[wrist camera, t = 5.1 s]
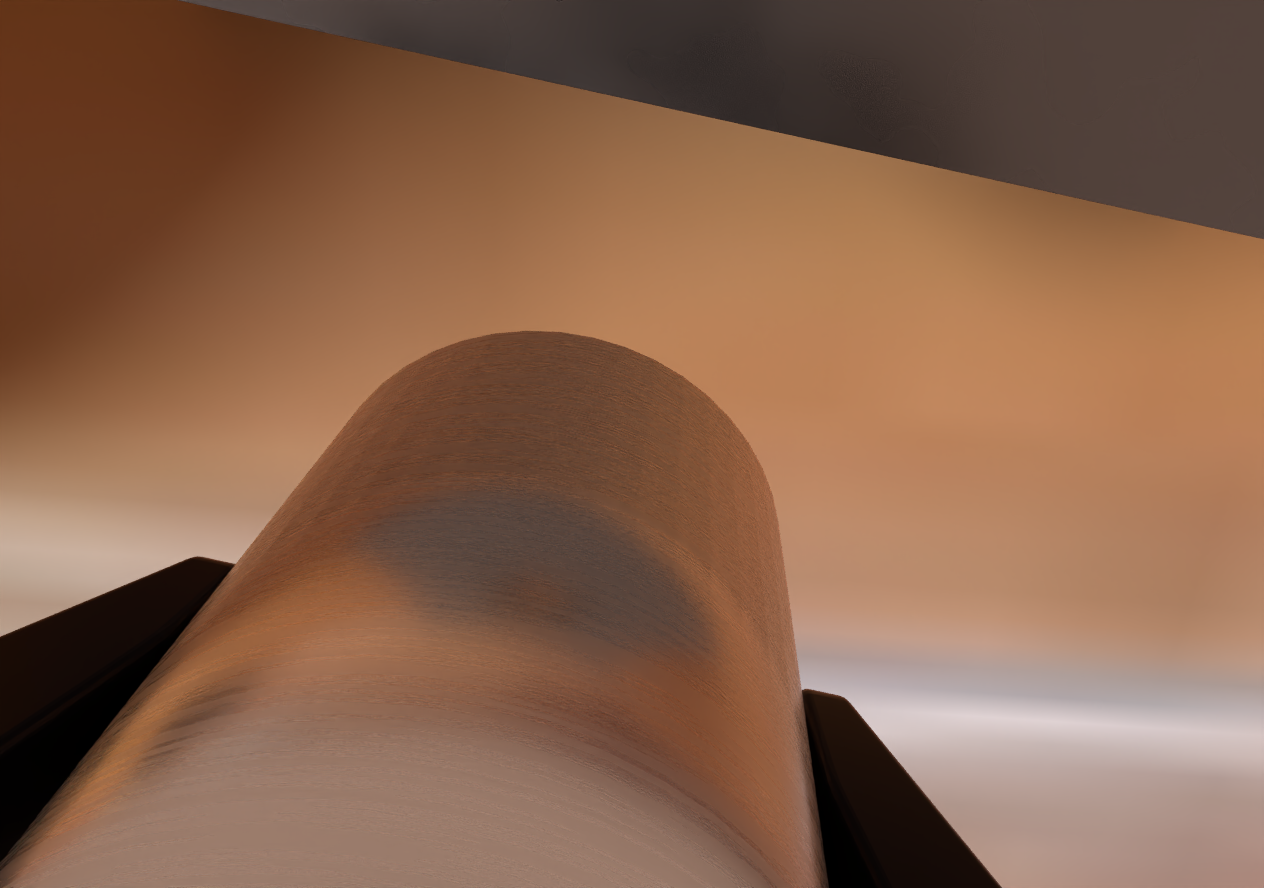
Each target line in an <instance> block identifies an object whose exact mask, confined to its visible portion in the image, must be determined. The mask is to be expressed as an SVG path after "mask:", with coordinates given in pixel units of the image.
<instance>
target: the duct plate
mask: <svg viewBox="0 0 1264 888" xmlns="http://www.w3.org/2000/svg"><path fill="white" fill-rule="evenodd" d="M179 1H184V2H188V3H193V4H197V5H202V6H207V7H211V8H216V9H220V10H225V11H229V12H234V13H238V14H243V15H247V16H252V17H257V18H261V19H266V20H270V21H275V22H279V23H284V24H288V25H293V26H297V27H302V28H307V29H311V30H316V31H320V32H325V33H329V34H334V35H338V36H343V37H347V38H352V39H357V40H361V41H366V42H370V43H375V44H379V45H384V46H388V47H393V48H397V49H402V50H407V51H411V52H416V53H420V54H425V55H429V56H434V57H438V58H443V59H447V60H452V61H457V62H461V63H466V64H470V65H475V66H479V67H484V68H488V69H493V70H497V71H502V72H507V73H511V74H516V75H520V76H525V77H529V78H534V79H538V80H543V81H547V82H552V83H556V84H561V85H566V86H570V87H575V88H579V89H584V90H588V91H593V92H597V93H602V94H606V95H611V96H616V97H620V98H625V99H629V100H634V101H638V102H643V103H647V104H652V105H656V106H661V107H666V108H670V109H675V110H679V111H684V112H688V113H693V114H697V115H702V116H706V117H711V118H716V119H720V120H725V121H729V122H734V123H738V124H743V125H747V126H752V127H756V128H761V129H766V130H770V131H775V132H779V133H784V134H788V135H793V136H797V137H802V138H806V139H811V140H816V141H820V142H825V143H829V144H834V145H838V146H843V147H847V148H852V149H856V150H861V151H866V152H870V153H875V154H879V155H884V156H888V157H893V158H897V159H902V160H906V161H911V162H916V163H920V164H925V165H929V166H934V167H938V168H943V169H947V170H952V171H956V172H961V173H966V174H970V175H975V176H979V177H984V178H988V179H993V180H997V181H1002V182H1006V183H1011V184H1016V185H1020V186H1025V187H1029V188H1034V189H1038V190H1043V191H1047V192H1052V193H1056V194H1061V195H1066V196H1070V197H1075V198H1079V199H1084V200H1088V201H1093V202H1097V203H1102V204H1106V205H1111V206H1116V207H1120V208H1125V209H1129V210H1134V211H1138V212H1143V213H1147V214H1152V215H1156V216H1161V217H1166V218H1170V219H1175V220H1179V221H1184V222H1188V223H1193V224H1197V225H1202V226H1206V227H1211V228H1216V229H1220V230H1225V231H1229V232H1234V233H1238V234H1243V235H1247V236H1252V237H1256V238H1261V239H1264V0H179Z"/></svg>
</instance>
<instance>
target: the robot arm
mask: <svg viewBox="0 0 1264 888" xmlns="http://www.w3.org/2000/svg"><path fill="white" fill-rule="evenodd" d="M234 566H235V564H232V563H228V562H223V561H219V560H214V559H210V558H205V557H192V558H189V559H186V560H184V561H182V562H179V563H177V564H174V565H172V566H170V567H167V568H165V569H162V570H160V571H158V572H155V573H153V574H150V575H148V576H145V577H143V578H141V579H138V580H136V581H133V582H131V583H129V584H126V585H124V586H121V587H119V588H117V589H114V590H112V591H109V592H107V593H104V594H102V595H100V596H97V597H95V598H92V599H90V600H88V601H85V602H83V603H80V604H78V605H76V606H73V607H71V608H68V609H66V610H63V611H61V612H59V613H56V614H54V615H51V616H49V617H47V618H44V619H42V620H39V621H37V622H35V623H32V624H30V625H27V626H25V627H22V628H20V629H18V630H15V631H13V632H10V633H8V634H6V635H3V636H1V637H0V863H1V861H2V860H3V859H4V857H5V856H6V855H7V854H8V852H9V851H10V850H11V849H12V847H13V846H14V845H15V844H16V842H17V841H18V840H19V838H20V837H21V836H22V835H23V833H24V832H25V831H26V830H27V828H28V827H29V826H30V824H31V823H32V822H33V821H34V819H35V818H36V817H37V816H38V814H39V813H40V812H41V811H42V809H43V808H44V807H45V805H46V804H47V803H48V802H49V800H50V799H51V798H52V797H53V795H54V794H55V793H56V792H57V790H58V789H59V788H60V786H61V785H62V784H63V783H64V781H65V780H66V779H67V778H68V776H69V775H70V774H71V772H72V771H73V770H74V769H75V767H76V766H77V765H78V764H79V762H80V761H81V760H82V759H83V757H84V756H85V755H86V753H87V752H88V751H89V750H90V748H91V747H92V746H93V745H94V743H95V742H96V741H97V740H98V738H99V737H100V736H101V734H102V733H103V732H104V731H105V729H106V728H107V727H108V726H109V724H110V723H111V722H112V720H113V719H114V718H115V717H116V715H117V714H118V713H119V712H120V710H121V709H122V708H123V707H124V705H125V704H126V703H127V701H128V700H129V699H130V698H131V696H132V695H133V694H134V693H135V691H136V690H137V689H138V687H139V686H140V685H141V684H142V682H143V681H144V680H145V679H146V677H147V676H148V675H149V674H150V672H151V671H152V670H153V668H154V667H155V666H156V665H157V663H158V662H159V661H160V660H161V658H162V657H163V656H164V655H165V653H166V652H167V651H168V649H169V648H170V647H171V646H172V644H173V643H174V642H175V641H176V639H177V638H178V637H179V635H180V634H181V633H182V632H183V630H184V629H185V628H186V627H187V625H188V624H189V623H190V622H191V620H192V619H193V618H194V616H195V615H196V614H197V613H198V611H199V610H200V609H201V608H202V606H203V605H204V604H205V603H206V601H207V600H208V599H209V597H210V596H211V595H212V594H213V592H214V591H215V590H216V589H217V587H218V586H219V585H220V583H221V582H222V581H223V580H224V578H225V577H226V576H227V575H228V573H229V572H230V571H231V570H232V568H233V567H234ZM802 697H803V704H804V712H805V719H806V726H807V733H808V740H809V748H810V755H811V762H812V769H813V776H814V784H815V791H816V798H817V805H818V813H819V820H820V827H821V834H822V841H823V849H824V856H825V863H826V870H827V878H828V885H829V888H1002V887H1001V886H1000V885H999V884H998V882H997V881H996V880H995V879H994V877H993V876H992V875H991V874H990V873H989V871H988V870H987V869H986V868H985V867H984V865H983V864H982V863H981V862H980V860H979V859H978V858H977V857H976V856H975V854H974V853H973V852H972V851H971V849H970V848H969V847H968V846H967V845H966V843H965V842H964V841H963V840H962V839H961V837H960V836H959V835H958V834H957V832H956V831H955V830H954V829H953V828H952V826H951V825H950V824H949V823H948V822H947V820H946V819H945V818H944V817H943V815H942V814H941V813H940V812H939V811H938V809H937V808H936V807H935V806H934V804H933V803H932V802H931V801H930V800H929V798H928V797H927V796H926V795H925V794H924V792H923V791H922V790H921V789H920V787H919V786H918V785H917V784H916V783H915V781H914V780H913V779H912V778H911V776H910V775H909V774H908V773H907V772H906V770H905V769H904V768H903V767H902V766H901V764H900V763H899V762H898V761H897V759H896V758H895V757H894V756H893V755H892V753H891V752H890V751H889V750H888V748H887V747H886V746H885V745H884V744H883V742H882V741H881V740H880V739H879V738H878V736H877V735H876V734H875V733H874V731H873V730H872V729H871V728H870V727H869V725H868V724H867V723H866V722H865V721H864V719H863V718H862V717H861V716H860V714H859V713H858V712H857V711H856V710H855V708H854V707H853V706H852V705H851V703H850V702H849V701H848V700H846V699H845V698H844V697H841V696H838V695H834V694H829V693H824V692H820V691H815V690H811V689H804V690H802Z"/></svg>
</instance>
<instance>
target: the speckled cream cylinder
mask: <svg viewBox="0 0 1264 888" xmlns="http://www.w3.org/2000/svg"><path fill="white" fill-rule="evenodd" d="M0 888H829V885H828V878H827V870H826V863H825V856H824V849H823V841H822V834H821V827H820V820H819V813H818V805H817V798H816V791H815V784H814V776H813V769H812V762H811V755H810V748H809V740H808V733H807V726H806V719H805V712H804V704H803V697H802V690H801V683H800V675H799V668H798V661H797V654H796V647H795V639H794V632H793V625H792V618H791V610H790V603H789V596H788V589H787V582H786V574H785V567H784V560H783V553H782V546H781V538H780V531H779V524H778V518H777V514H776V509H775V504H774V500H773V495H772V492H771V490H770V487H769V484H768V482H767V479H766V476H765V474H764V471H763V468H762V466H761V465H760V463H759V461H758V459H757V457H756V456H755V454H754V452H753V450H752V448H751V447H750V445H749V443H748V442H747V440H746V439H745V438H744V436H743V435H742V434H741V432H740V431H739V430H738V428H737V427H736V426H735V424H734V423H733V422H732V420H731V419H730V418H729V417H728V416H727V415H726V414H725V413H724V412H723V411H722V410H721V409H720V408H719V407H718V406H717V405H716V404H715V403H714V402H713V401H712V399H711V398H710V397H709V396H707V395H706V394H705V393H703V392H702V391H701V390H700V389H698V388H697V387H696V386H694V385H693V384H692V383H691V382H689V381H688V380H687V379H685V378H684V377H683V376H681V375H679V374H678V373H676V372H674V371H673V370H671V369H669V368H668V367H666V366H664V365H662V364H661V363H659V362H657V361H656V360H654V359H651V358H649V357H647V356H644V355H642V354H640V353H638V352H635V351H633V350H631V349H628V348H626V347H623V346H620V345H616V344H613V343H610V342H606V341H603V340H599V339H596V338H592V337H586V336H580V335H574V334H568V333H562V332H542V331H520V332H508V333H497V334H491V335H486V336H482V337H477V338H473V339H468V340H464V341H461V342H458V343H455V344H452V345H450V346H447V347H444V348H441V349H439V350H436V351H433V352H431V353H430V354H428V355H426V356H424V357H422V358H420V359H418V360H416V361H415V362H413V363H411V364H409V365H407V366H406V367H404V368H403V369H401V370H400V371H399V372H397V373H396V374H395V375H393V376H392V377H391V378H389V379H388V380H386V381H385V382H384V383H382V384H381V385H380V386H379V387H378V388H377V389H376V390H375V391H374V392H373V393H372V394H371V395H370V396H369V397H368V398H367V399H366V400H365V401H364V402H363V403H362V405H361V406H360V407H359V408H358V410H357V411H356V412H355V414H354V415H353V416H352V417H351V419H350V420H349V421H348V422H347V424H346V425H345V426H344V427H343V429H342V430H341V431H340V433H339V434H338V435H337V436H336V438H335V439H334V440H333V441H332V443H331V444H330V445H329V446H328V448H327V449H326V450H325V452H324V453H323V454H322V455H321V457H320V458H319V459H318V460H317V462H316V463H315V464H314V466H313V467H312V468H311V469H310V471H309V472H308V473H307V474H306V476H305V477H304V478H303V479H302V481H301V482H300V483H299V485H298V486H297V487H296V488H295V490H294V491H293V492H292V493H291V495H290V496H289V497H288V498H287V500H286V501H285V502H284V504H283V505H282V506H281V507H280V509H279V510H278V511H277V512H276V514H275V515H274V516H273V518H272V519H271V520H270V521H269V523H268V524H267V525H266V526H265V528H264V529H263V530H262V531H261V533H260V534H259V535H258V537H257V538H256V539H255V540H254V542H253V543H252V544H251V545H250V547H249V548H248V549H247V551H246V552H245V553H244V554H243V556H242V557H241V558H240V559H239V561H238V562H237V563H236V564H235V566H234V567H233V568H232V570H231V571H230V572H229V573H228V575H227V576H226V577H225V578H224V580H223V581H222V582H221V583H220V585H219V586H218V587H217V589H216V590H215V591H214V592H213V594H212V595H211V596H210V597H209V599H208V600H207V601H206V603H205V604H204V605H203V606H202V608H201V609H200V610H199V611H198V613H197V614H196V615H195V616H194V618H193V619H192V620H191V622H190V623H189V624H188V625H187V627H186V628H185V629H184V630H183V632H182V633H181V634H180V635H179V637H178V638H177V639H176V641H175V642H174V643H173V644H172V646H171V647H170V648H169V649H168V651H167V652H166V653H165V655H164V656H163V657H162V658H161V660H160V661H159V662H158V663H157V665H156V666H155V667H154V668H153V670H152V671H151V672H150V674H149V675H148V676H147V677H146V679H145V680H144V681H143V682H142V684H141V685H140V686H139V687H138V689H137V690H136V691H135V693H134V694H133V695H132V696H131V698H130V699H129V700H128V701H127V703H126V704H125V705H124V707H123V708H122V709H121V710H120V712H119V713H118V714H117V715H116V717H115V718H114V719H113V720H112V722H111V723H110V724H109V726H108V727H107V728H106V729H105V731H104V732H103V733H102V734H101V736H100V737H99V738H98V740H97V741H96V742H95V743H94V745H93V746H92V747H91V748H90V750H89V751H88V752H87V753H86V755H85V756H84V757H83V759H82V760H81V761H80V762H79V764H78V765H77V766H76V767H75V769H74V770H73V771H72V772H71V774H70V775H69V776H68V778H67V779H66V780H65V781H64V783H63V784H62V785H61V786H60V788H59V789H58V790H57V792H56V793H55V794H54V795H53V797H52V798H51V799H50V800H49V802H48V803H47V804H46V805H45V807H44V808H43V809H42V811H41V812H40V813H39V814H38V816H37V817H36V818H35V819H34V821H33V822H32V823H31V824H30V826H29V827H28V828H27V830H26V831H25V832H24V833H23V835H22V836H21V837H20V838H19V840H18V841H17V842H16V844H15V845H14V846H13V847H12V849H11V850H10V851H9V852H8V854H7V855H6V856H5V857H4V859H3V860H2V861H1V863H0Z"/></svg>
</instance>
